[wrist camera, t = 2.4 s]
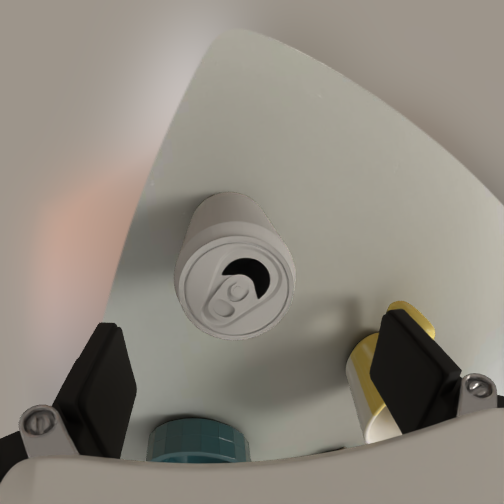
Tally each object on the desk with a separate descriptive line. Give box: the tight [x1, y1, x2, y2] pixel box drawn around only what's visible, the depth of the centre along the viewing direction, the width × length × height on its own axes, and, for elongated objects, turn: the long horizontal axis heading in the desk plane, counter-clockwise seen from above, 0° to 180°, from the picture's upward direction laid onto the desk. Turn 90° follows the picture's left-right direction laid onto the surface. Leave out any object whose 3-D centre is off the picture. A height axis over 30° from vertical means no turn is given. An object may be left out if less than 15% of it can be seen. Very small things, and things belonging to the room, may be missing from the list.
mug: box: [346, 301, 435, 444], centre depth 27 cm, size 14×10×10 cm
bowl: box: [146, 418, 251, 464], centre depth 32 cm, size 13×13×6 cm
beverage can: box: [174, 192, 296, 340], centre depth 21 cm, size 6×6×12 cm
